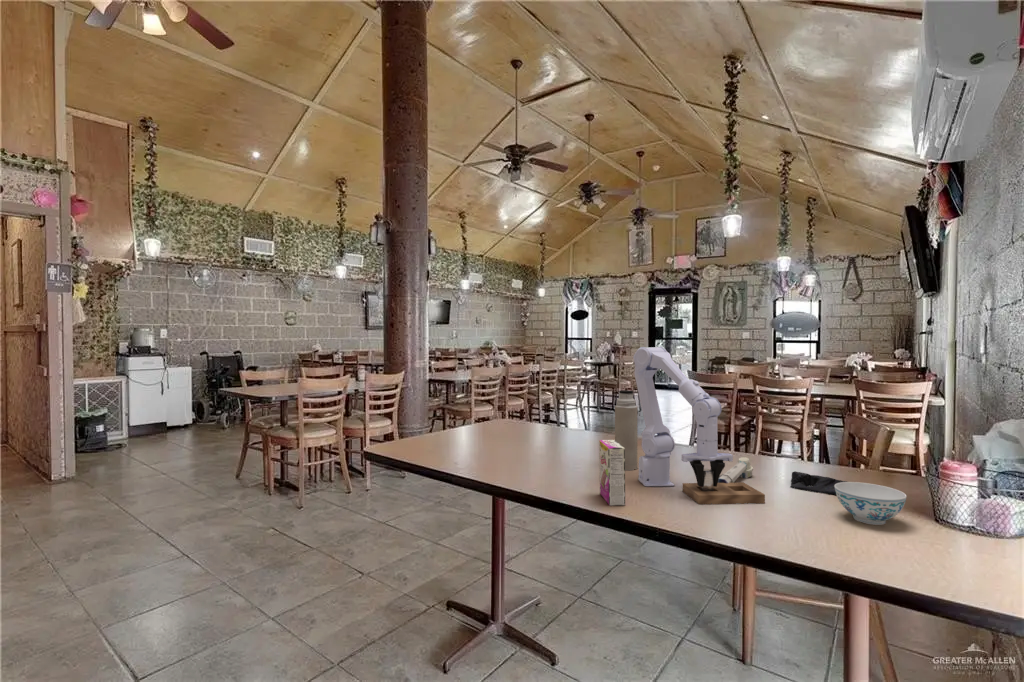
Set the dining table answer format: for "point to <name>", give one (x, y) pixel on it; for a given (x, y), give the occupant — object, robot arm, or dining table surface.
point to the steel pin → (708, 480)
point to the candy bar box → (612, 472)
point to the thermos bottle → (627, 427)
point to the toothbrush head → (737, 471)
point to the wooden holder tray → (724, 494)
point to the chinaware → (870, 501)
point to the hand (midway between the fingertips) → (707, 485)
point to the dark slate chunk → (813, 483)
